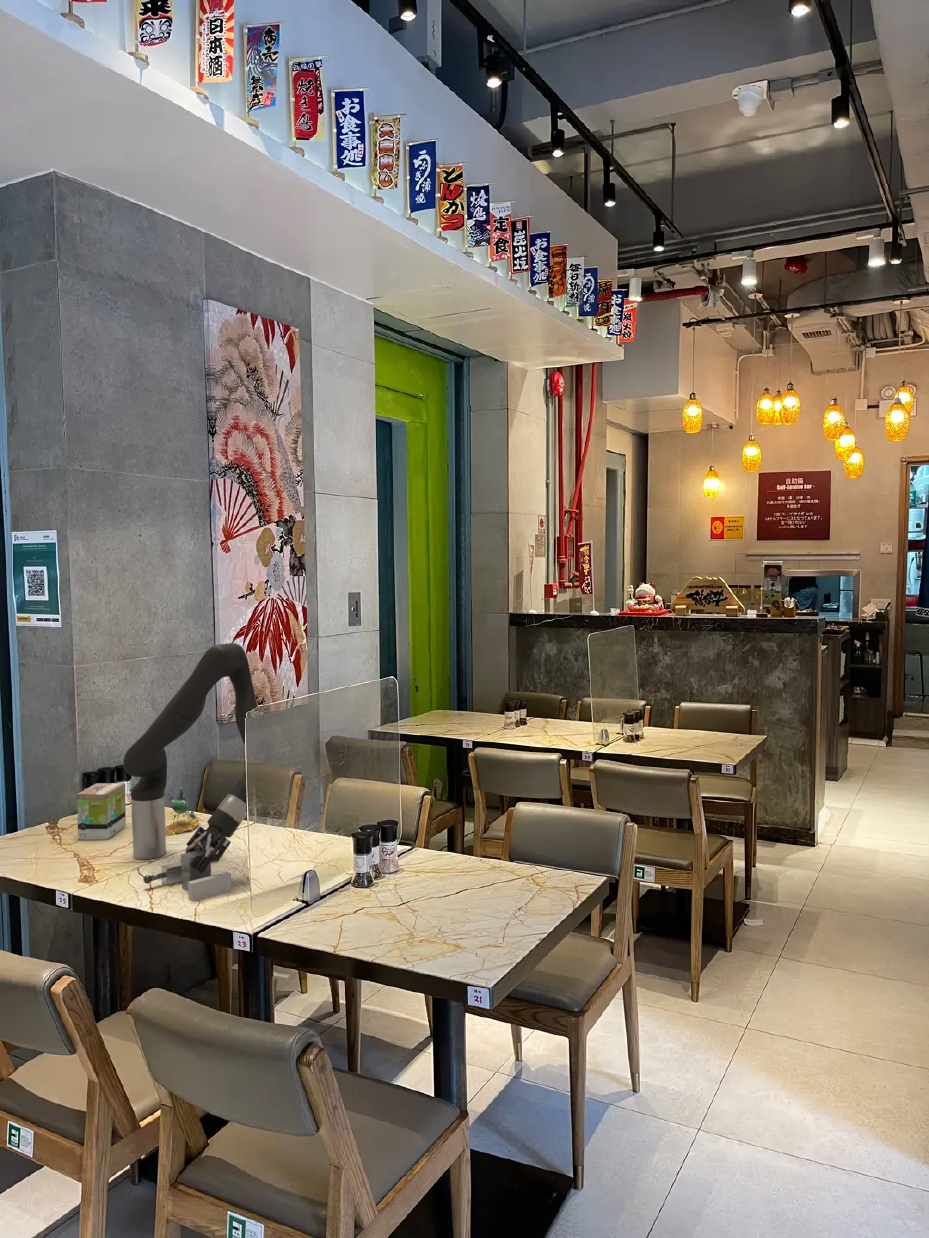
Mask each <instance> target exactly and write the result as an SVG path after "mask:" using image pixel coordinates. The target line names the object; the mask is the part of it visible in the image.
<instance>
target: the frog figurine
mask: <svg viewBox="0 0 929 1238" xmlns="http://www.w3.org/2000/svg"><path fill="white" fill-rule="evenodd" d="M183 794H184V787H182V786H181V787H180V788H179V795H178V796H177V798H176V799H174V796H171V797H170V798H169V801H170V802H171V805H172V807H171V809H172V810H173V811H174V812H175V814H174V815H173V817H174V818H173V822H171V823H169V824H168V825H165V831H166V837H168V836H171V835H173V836H174V835H180V834H181V833H184V832H188V831H192V830H194V829H195V828H196V827H197V826H198V825H199V821H200V818H199V817H197V815H196V814H195V813H196V810H195V809H194V810H193V809H191V811H190V812H189V810H188V809H189V806H190V805H189V802H188V800H187V799H186V797H185V796H183ZM180 815H182V816H183V819H179V817H180ZM177 816H178V817H177ZM185 816H186V817H187V818H185ZM176 817H177V818H176ZM175 818H176V821H175Z"/></svg>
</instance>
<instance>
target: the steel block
mask: <svg viewBox="0 0 929 1238" xmlns="http://www.w3.org/2000/svg"><path fill="white" fill-rule="evenodd" d="M205 854H206V851H205V850H203V849H201V850H197V851H193V852H188V853H181V854H180V862H181V869H182V882H181V887H182V889H184V890H185V891H186V892H187V891H188V882H189V881H193V880H197V879H201V878H205V877H208V876H212V867H211V866H212V861H211V862H210V864H209V865H208V867H207V868H206V869H205V871H204V872H203V873H199V872H198V871H197V870H196V867H197V865H198V864H199V863H200V861H201V860H202V859H203V857H205Z"/></svg>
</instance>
